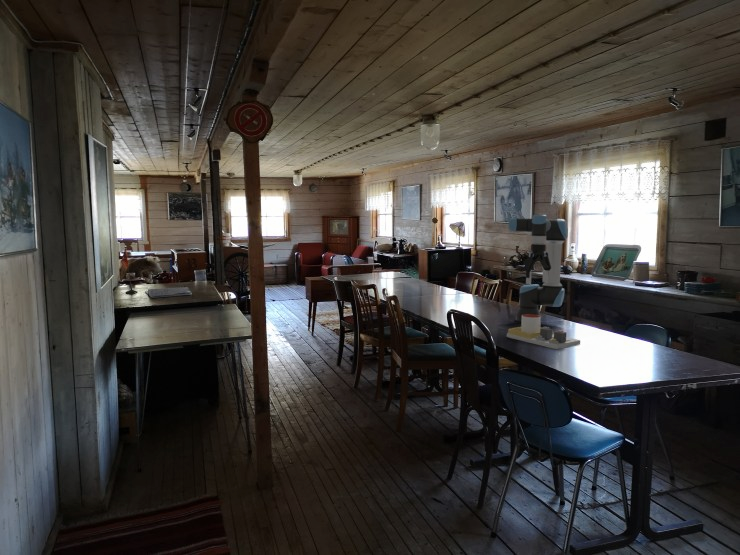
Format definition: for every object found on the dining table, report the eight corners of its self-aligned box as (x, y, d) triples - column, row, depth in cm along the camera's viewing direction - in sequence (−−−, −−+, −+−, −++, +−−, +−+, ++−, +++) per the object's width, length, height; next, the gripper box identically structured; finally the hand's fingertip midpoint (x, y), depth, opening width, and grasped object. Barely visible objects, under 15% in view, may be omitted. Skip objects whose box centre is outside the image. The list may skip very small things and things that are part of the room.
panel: (530, 332, 302) (530, 324, 301) (580, 344, 275) (580, 335, 275) (506, 336, 291) (506, 328, 290) (555, 349, 264) (556, 340, 264)
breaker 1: (544, 337, 280) (545, 326, 280) (552, 338, 277) (552, 327, 276) (540, 338, 278) (540, 326, 277) (547, 339, 274) (547, 328, 274)
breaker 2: (558, 340, 273) (559, 329, 273) (566, 342, 270) (566, 331, 269) (553, 341, 271) (554, 330, 271) (561, 342, 267) (561, 332, 267)
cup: (537, 332, 294) (538, 314, 293) (541, 336, 284) (542, 317, 283) (519, 331, 295) (520, 314, 294) (522, 335, 285) (523, 317, 284)
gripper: (547, 242, 293) (545, 280, 295) (517, 244, 279) (515, 283, 281) (559, 243, 287) (557, 282, 289) (528, 244, 273) (527, 285, 275)
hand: (536, 283), depth 285 cm, fingers open, 13 cm apart
